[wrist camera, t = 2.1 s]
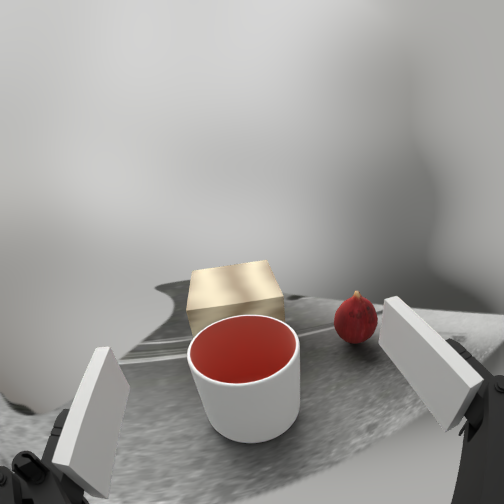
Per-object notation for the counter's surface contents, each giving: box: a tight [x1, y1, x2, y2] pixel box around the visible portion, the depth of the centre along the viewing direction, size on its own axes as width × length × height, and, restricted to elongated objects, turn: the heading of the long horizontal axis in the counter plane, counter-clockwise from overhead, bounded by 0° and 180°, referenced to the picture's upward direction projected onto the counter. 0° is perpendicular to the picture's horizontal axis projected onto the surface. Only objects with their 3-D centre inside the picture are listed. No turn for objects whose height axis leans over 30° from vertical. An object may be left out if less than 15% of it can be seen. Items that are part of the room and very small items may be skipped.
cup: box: [187, 315, 300, 443], centre depth 27 cm, size 10×10×10 cm
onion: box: [334, 291, 378, 344], centre depth 36 cm, size 6×6×8 cm
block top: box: [186, 260, 285, 338], centre depth 38 cm, size 11×11×5 cm
